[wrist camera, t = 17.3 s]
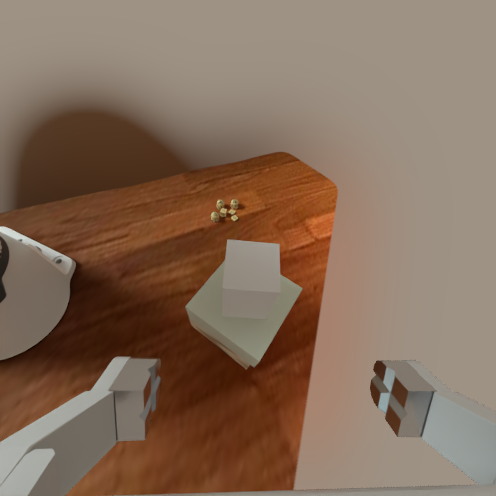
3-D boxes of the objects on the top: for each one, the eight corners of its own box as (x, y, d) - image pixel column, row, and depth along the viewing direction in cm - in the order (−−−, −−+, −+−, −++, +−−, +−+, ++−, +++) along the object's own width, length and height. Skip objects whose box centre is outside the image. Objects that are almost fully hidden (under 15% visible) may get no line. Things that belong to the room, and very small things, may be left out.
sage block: (189, 319, 32) (185, 306, 28) (234, 264, 37) (236, 246, 33) (254, 367, 30) (259, 361, 26) (293, 302, 35) (302, 288, 30)
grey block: (266, 319, 28) (280, 292, 21) (222, 316, 28) (222, 288, 21) (266, 279, 31) (279, 244, 24) (226, 275, 30) (227, 239, 24)
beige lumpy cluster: (210, 223, 47) (210, 217, 46) (214, 203, 50) (213, 197, 48) (237, 226, 48) (238, 220, 46) (239, 206, 50) (239, 199, 49)
